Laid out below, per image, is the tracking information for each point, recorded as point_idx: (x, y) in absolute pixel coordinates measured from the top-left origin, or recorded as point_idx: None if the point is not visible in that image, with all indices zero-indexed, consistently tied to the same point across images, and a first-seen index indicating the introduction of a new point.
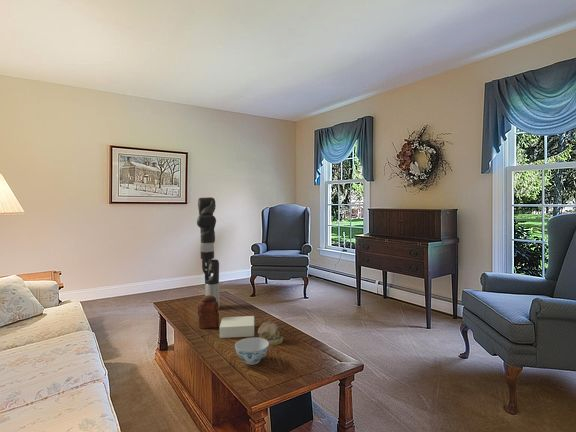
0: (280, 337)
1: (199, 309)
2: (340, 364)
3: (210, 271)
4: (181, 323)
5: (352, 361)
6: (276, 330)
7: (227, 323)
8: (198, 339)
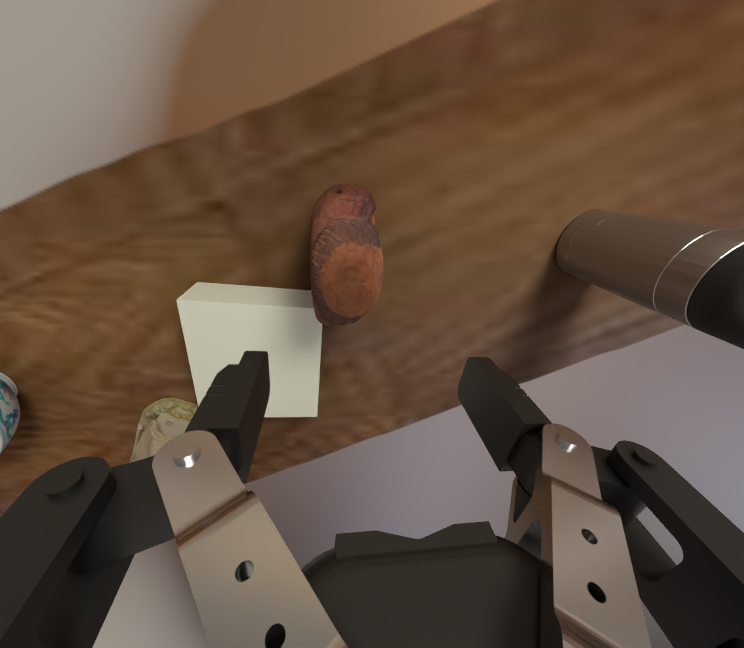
0: None
1: (323, 198)
2: None
3: (493, 458)
4: (429, 72)
5: None
6: None
7: (231, 331)
8: (175, 188)
